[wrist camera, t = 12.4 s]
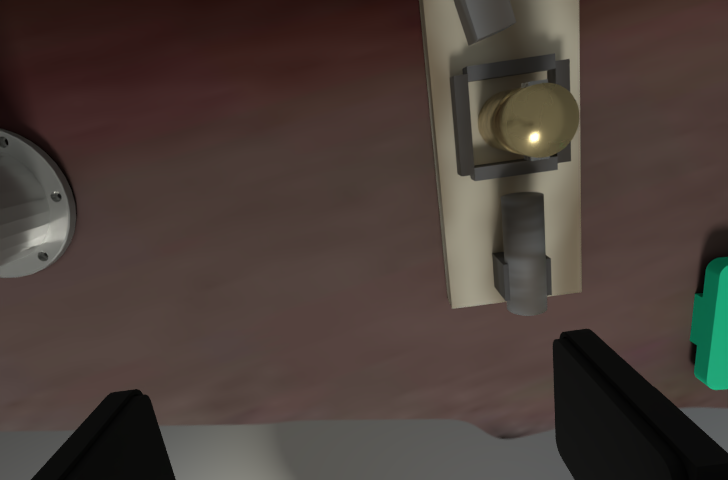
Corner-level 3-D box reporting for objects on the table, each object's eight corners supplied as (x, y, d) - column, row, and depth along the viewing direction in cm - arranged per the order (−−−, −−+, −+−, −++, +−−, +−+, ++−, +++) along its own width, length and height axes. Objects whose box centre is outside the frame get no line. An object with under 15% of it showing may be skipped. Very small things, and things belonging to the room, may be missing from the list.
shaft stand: (447, 299, 39) (462, 330, 34) (411, -84, 32) (421, -129, 26) (570, 283, 39) (606, 311, 33) (564, -108, 31) (610, -160, 25)
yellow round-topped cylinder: (475, 92, 33) (504, 85, 26) (534, 83, 33) (579, 74, 26) (480, 156, 34) (508, 165, 27) (536, 148, 34) (579, 155, 27)
